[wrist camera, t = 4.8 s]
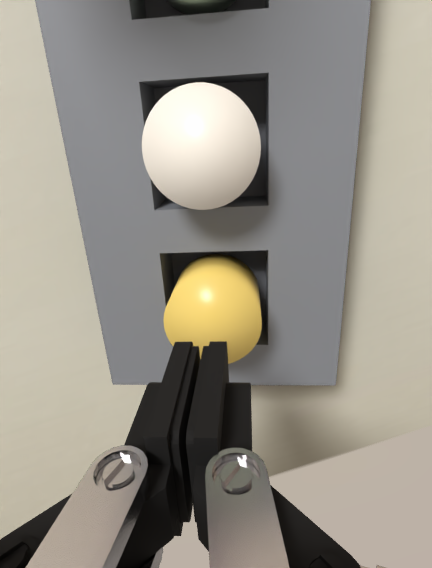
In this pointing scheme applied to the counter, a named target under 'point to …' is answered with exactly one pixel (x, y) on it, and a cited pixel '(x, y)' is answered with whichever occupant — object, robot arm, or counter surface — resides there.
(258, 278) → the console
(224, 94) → the ivory button
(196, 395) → the robot arm
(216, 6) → the sage button
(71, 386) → the counter surface
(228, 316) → the mustard button
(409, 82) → the counter surface
